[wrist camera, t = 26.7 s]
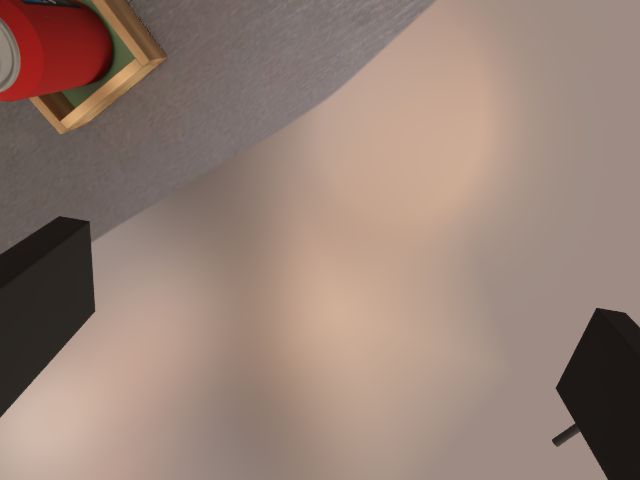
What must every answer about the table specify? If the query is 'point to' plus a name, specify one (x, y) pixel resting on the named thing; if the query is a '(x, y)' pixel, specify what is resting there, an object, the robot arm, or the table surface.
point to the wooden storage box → (124, 71)
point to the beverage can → (50, 47)
